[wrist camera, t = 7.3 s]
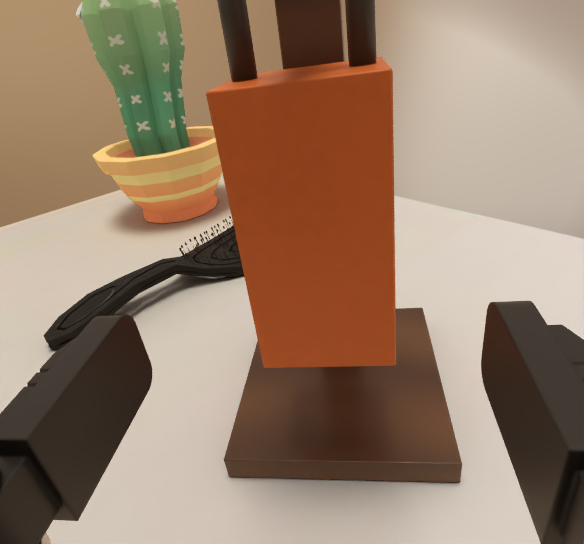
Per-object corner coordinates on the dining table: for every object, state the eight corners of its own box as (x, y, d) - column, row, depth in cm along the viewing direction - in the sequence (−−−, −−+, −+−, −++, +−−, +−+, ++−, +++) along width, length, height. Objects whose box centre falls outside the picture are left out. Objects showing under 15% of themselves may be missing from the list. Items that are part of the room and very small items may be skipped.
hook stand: (479, 561, 15) (775, -1301, 3) (210, 547, 17) (-292, -713, 5) (422, 322, 27) (436, -252, 15) (268, 328, 29) (168, -187, 17)
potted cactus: (233, 178, 60) (190, -39, 48) (255, 215, 47) (203, -72, 35) (120, 202, 58) (44, -22, 45) (109, 248, 44) (-3, -51, 32)
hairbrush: (17, 295, 32) (275, 178, 44) (40, 334, 33) (281, 210, 46) (47, 342, 26) (334, 192, 38) (73, 385, 28) (338, 229, 40)
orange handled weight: (396, 366, 16) (389, -204, 9) (263, 368, 17) (153, -150, 9) (387, 304, 19) (377, -140, 12) (278, 308, 20) (206, -104, 13)
